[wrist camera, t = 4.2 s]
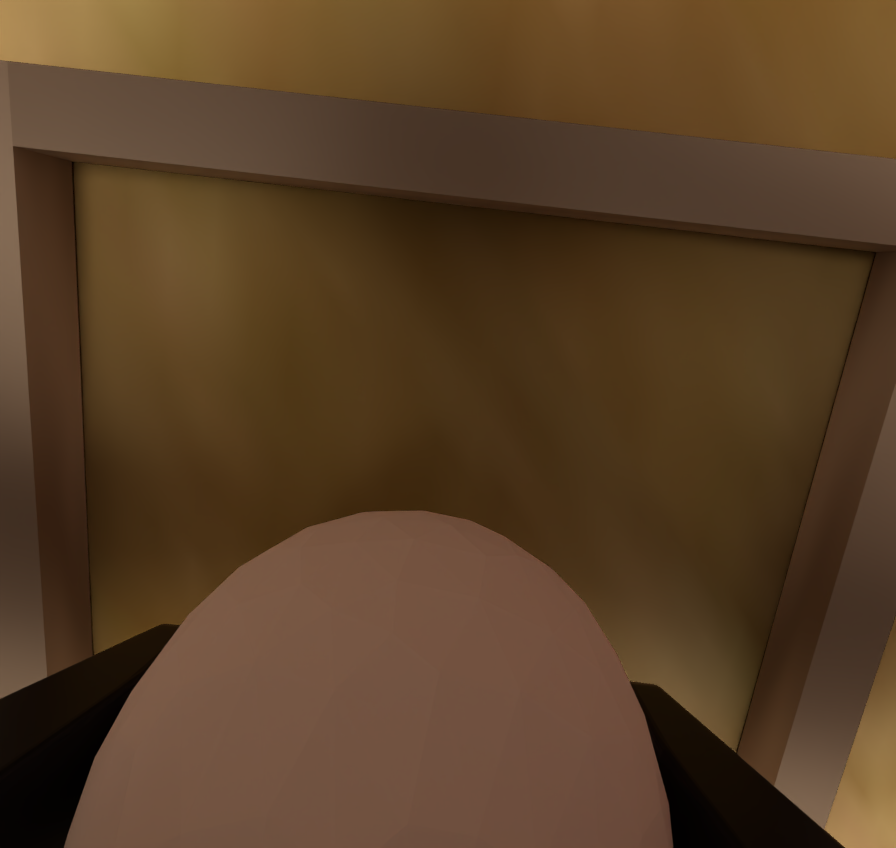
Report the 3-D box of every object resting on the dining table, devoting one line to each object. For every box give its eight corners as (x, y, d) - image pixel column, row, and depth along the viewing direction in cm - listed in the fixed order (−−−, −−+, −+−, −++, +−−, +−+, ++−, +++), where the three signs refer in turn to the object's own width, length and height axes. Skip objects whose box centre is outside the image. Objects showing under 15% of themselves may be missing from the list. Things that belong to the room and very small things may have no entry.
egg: (386, 798, 10) (197, 1929, 3) (181, 565, 10) (-687, 1447, 2) (657, 645, 10) (1196, 1762, 2) (458, 369, 9) (380, 868, 1)
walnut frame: (739, 929, 12) (767, 999, 11) (52, 837, 12) (8, 896, 11) (968, 187, 9) (1042, 175, 8) (0, 80, 9) (-71, 52, 8)
